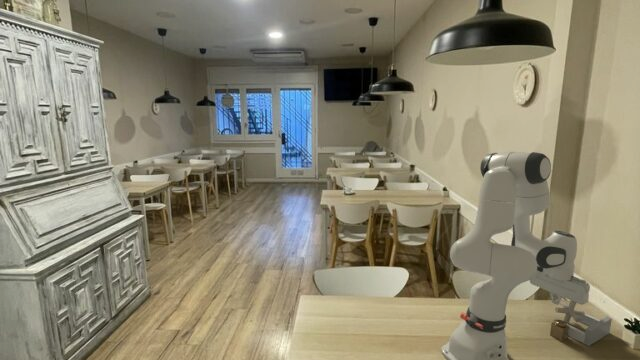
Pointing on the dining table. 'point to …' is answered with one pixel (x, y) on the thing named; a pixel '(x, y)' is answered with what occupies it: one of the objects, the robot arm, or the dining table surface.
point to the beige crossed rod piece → (570, 311)
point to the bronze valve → (559, 330)
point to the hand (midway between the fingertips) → (555, 303)
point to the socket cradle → (591, 329)
